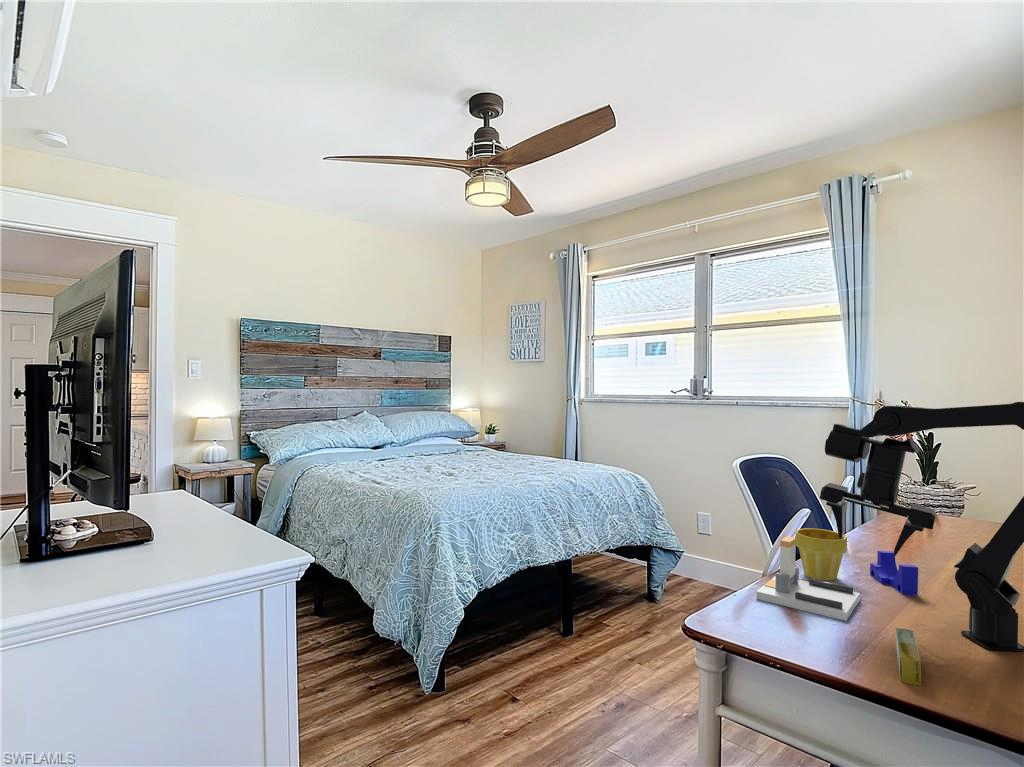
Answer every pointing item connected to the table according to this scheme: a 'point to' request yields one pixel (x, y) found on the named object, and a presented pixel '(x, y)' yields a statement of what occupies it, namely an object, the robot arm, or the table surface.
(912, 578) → the cable clip
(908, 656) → the medication box
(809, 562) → the plant pot
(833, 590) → the white base plate
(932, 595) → the table surface
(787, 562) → the lever
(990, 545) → the robot arm
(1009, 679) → the table surface
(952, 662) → the table surface
